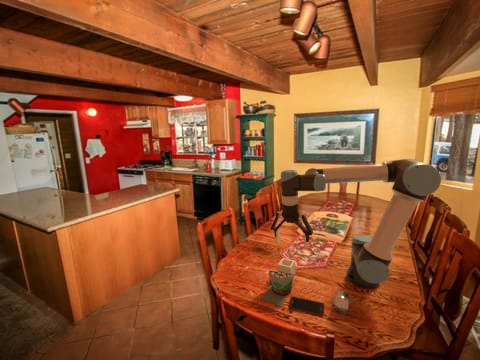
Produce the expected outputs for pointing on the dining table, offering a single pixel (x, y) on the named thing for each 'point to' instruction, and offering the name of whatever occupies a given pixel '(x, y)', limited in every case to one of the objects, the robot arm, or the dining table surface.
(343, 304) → the silver round cylinder
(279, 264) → the cup
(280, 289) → the food container
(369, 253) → the robot arm
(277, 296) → the felt pad
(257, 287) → the dining table surface
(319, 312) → the cell phone
